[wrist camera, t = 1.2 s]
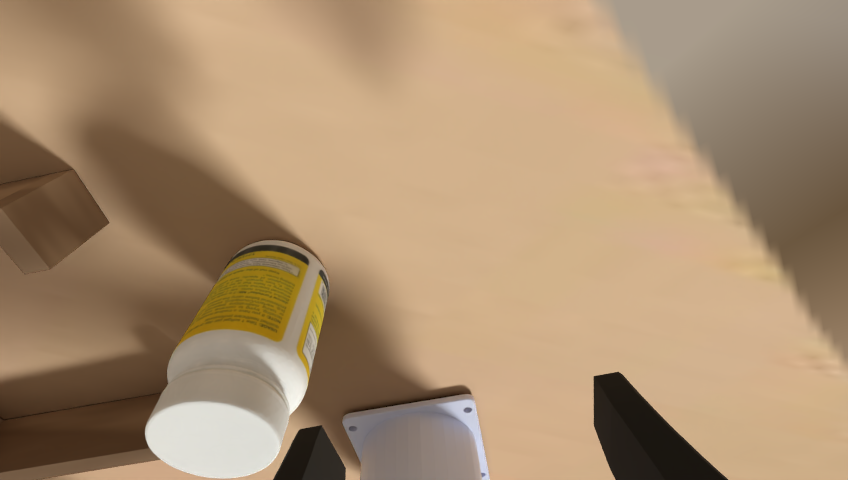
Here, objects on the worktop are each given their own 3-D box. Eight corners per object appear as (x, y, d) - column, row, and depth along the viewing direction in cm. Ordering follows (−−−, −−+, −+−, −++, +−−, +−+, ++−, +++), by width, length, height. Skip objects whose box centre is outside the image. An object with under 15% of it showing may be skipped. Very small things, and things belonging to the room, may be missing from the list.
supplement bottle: (207, 268, 19) (91, 432, 12) (284, 218, 18) (206, 367, 11) (278, 331, 22) (216, 501, 14) (351, 290, 20) (323, 453, 13)
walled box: (224, 395, 24) (199, 453, 21) (-1, 433, 25) (-57, 495, 22) (73, 169, 17) (0, 208, 14) (-238, 233, 17) (-370, 284, 14)
